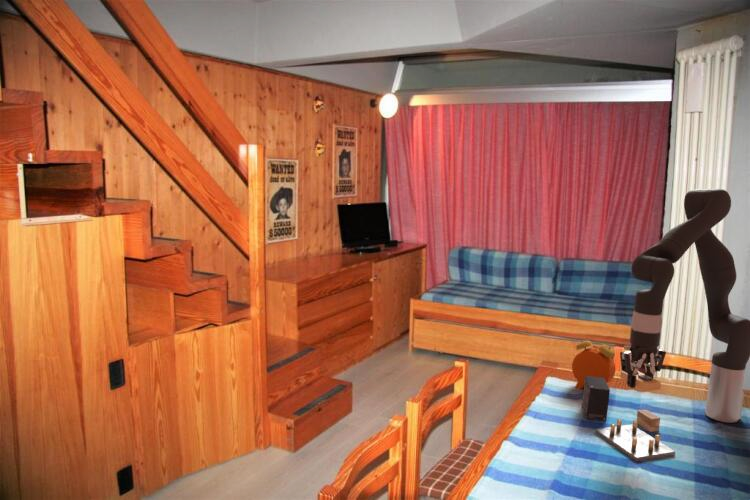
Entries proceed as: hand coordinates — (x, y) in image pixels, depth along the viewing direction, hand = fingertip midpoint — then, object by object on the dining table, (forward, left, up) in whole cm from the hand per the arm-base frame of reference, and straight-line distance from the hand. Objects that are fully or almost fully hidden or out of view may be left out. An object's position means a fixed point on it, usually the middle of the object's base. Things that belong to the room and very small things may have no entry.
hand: (639, 386), depth 167 cm
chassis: (0, 0, -17) cm, 17 cm away
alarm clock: (-14, -37, -18) cm, 43 cm away
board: (0, 0, +1) cm, 1 cm away
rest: (-12, -8, -17) cm, 23 cm away
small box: (-2, -20, -18) cm, 27 cm away
